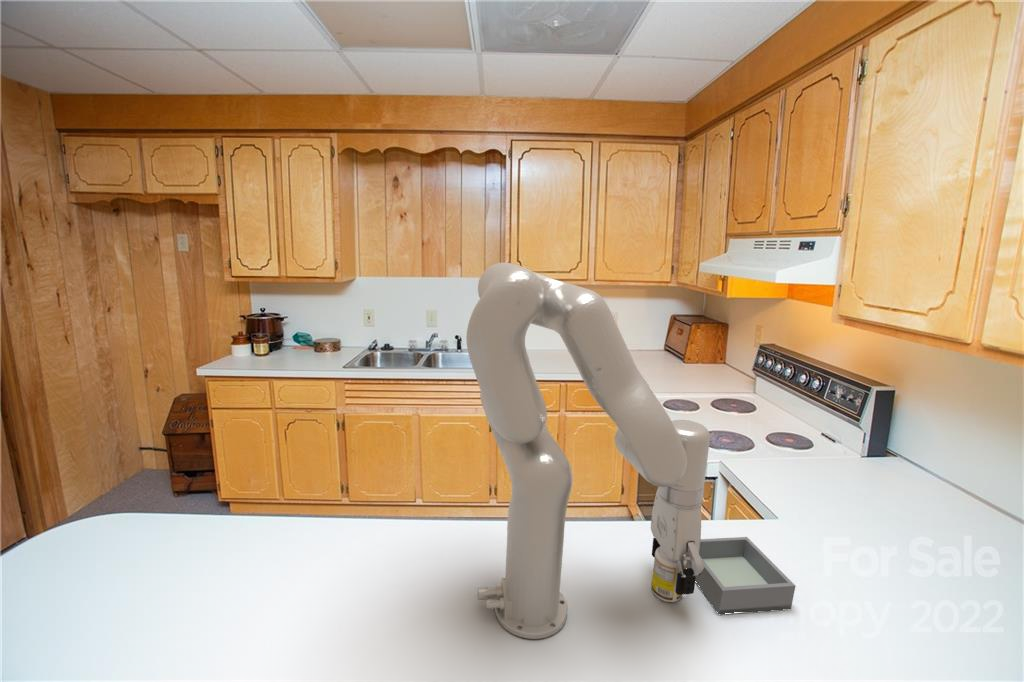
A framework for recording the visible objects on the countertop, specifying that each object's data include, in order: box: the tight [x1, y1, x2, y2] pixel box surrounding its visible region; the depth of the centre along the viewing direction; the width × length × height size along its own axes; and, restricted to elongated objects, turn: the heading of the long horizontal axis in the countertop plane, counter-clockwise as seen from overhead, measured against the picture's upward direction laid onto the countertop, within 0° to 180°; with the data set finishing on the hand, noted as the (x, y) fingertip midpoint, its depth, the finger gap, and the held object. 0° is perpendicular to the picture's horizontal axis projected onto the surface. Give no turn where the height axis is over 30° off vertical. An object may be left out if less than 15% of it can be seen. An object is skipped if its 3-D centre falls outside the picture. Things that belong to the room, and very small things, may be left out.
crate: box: [685, 536, 796, 615], centre depth 90 cm, size 14×14×5 cm
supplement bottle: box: [651, 546, 687, 603], centre depth 86 cm, size 6×6×10 cm
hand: (671, 573), depth 87 cm, fingers open, 9 cm apart
